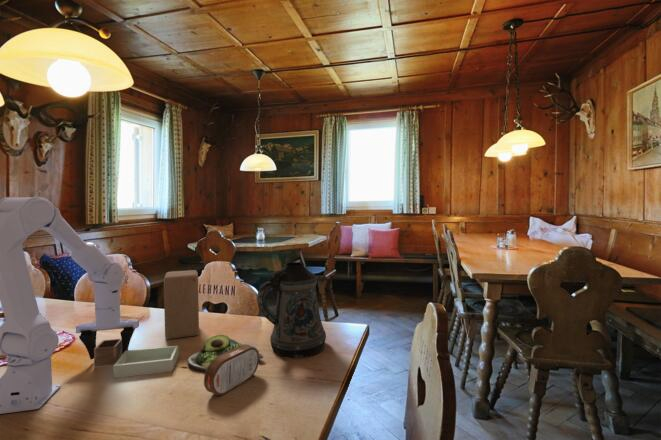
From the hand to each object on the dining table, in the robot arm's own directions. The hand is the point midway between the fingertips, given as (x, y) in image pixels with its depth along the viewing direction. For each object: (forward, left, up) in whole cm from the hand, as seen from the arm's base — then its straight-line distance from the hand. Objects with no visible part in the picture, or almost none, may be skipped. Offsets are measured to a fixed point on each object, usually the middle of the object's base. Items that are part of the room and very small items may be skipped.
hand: (109, 355), depth 94 cm
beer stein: (-5, -50, -2) cm, 50 cm away
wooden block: (+17, -16, -2) cm, 23 cm away
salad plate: (-6, -30, -2) cm, 31 cm away
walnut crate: (0, 0, -2) cm, 2 cm away
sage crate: (-6, -11, -1) cm, 13 cm away
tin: (-22, -33, -2) cm, 40 cm away
